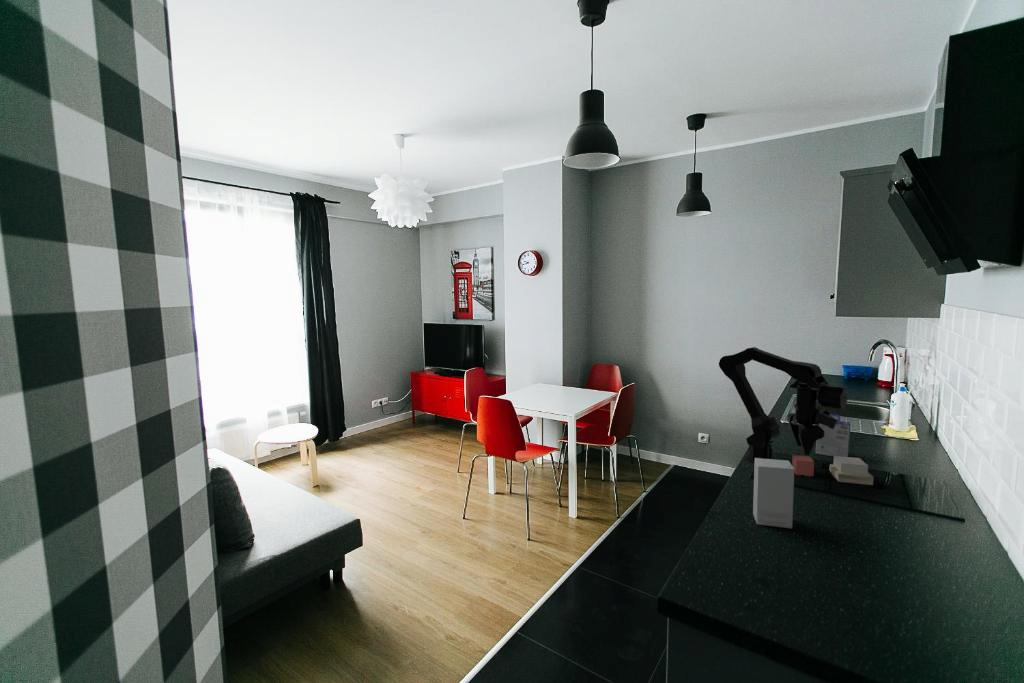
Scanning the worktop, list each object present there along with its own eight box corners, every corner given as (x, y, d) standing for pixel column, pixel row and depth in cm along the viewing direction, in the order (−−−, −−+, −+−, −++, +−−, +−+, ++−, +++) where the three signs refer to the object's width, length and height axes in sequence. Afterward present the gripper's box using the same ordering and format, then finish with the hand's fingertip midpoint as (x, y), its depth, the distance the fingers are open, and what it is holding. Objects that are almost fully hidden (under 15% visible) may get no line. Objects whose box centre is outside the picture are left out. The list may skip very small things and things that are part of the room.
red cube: (813, 476, 149) (814, 461, 149) (795, 475, 151) (796, 460, 151) (808, 471, 154) (809, 456, 154) (791, 469, 156) (792, 455, 155)
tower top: (867, 475, 144) (868, 465, 144) (840, 472, 146) (841, 463, 146) (858, 467, 151) (859, 458, 150) (833, 464, 153) (833, 455, 153)
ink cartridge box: (848, 454, 170) (851, 415, 168) (848, 459, 165) (851, 419, 164) (815, 449, 175) (818, 411, 174) (815, 454, 171) (817, 415, 169)
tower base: (872, 486, 143) (873, 477, 143) (838, 483, 146) (838, 473, 145) (861, 475, 151) (862, 466, 151) (829, 472, 154) (829, 463, 154)
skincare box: (787, 518, 122) (790, 460, 120) (793, 530, 116) (796, 469, 114) (751, 513, 124) (754, 456, 123) (755, 525, 118) (758, 465, 117)
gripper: (846, 412, 139) (842, 463, 141) (826, 398, 157) (823, 444, 158) (803, 409, 143) (799, 459, 144) (788, 396, 160) (785, 440, 162)
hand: (803, 450), depth 152 cm, fingers open, 9 cm apart
